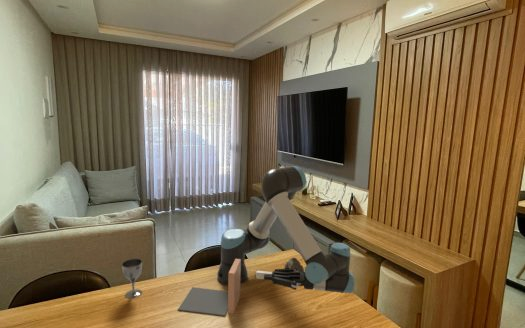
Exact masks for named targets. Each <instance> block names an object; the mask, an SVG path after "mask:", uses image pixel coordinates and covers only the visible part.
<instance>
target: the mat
mask: <svg viewBox="0 0 525 328" xmlns="http://www.w3.org/2000/svg"><path fill="white" fill-rule="evenodd" d="M177 311H180V312H187V313H196V314H204V315H211V316H219V317H220V316H221V317H225V316H226V315H227V313H228V290H219V289H213V288H212V289H211V288H203V287H194V286H193V287H191V289H190V290H189V292H188V293H187V295H186V296H185V297H184V299H183V301H182V302H181V303H180V306H179V307H178V308H177Z"/></svg>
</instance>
